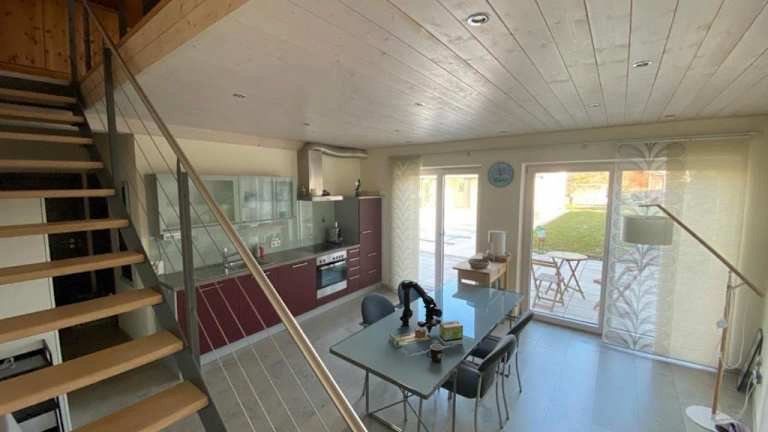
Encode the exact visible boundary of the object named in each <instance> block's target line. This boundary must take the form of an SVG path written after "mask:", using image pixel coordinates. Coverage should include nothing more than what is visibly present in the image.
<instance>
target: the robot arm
mask: <svg viewBox="0 0 768 432" xmlns="http://www.w3.org/2000/svg"><path fill="white" fill-rule="evenodd" d="M411 289H413V290H414V291H415V292H416V294H418V296H419V297H420V298H421V299H422V303H423V305H424V306H423V309H425V314H424V317H425V319H424V321H423V320H420V321H417V326H418V328H425V327H426V330H427V332H428V334H431V332H432V328H434V327H437V325H440V323H442V320H441V319H440V318H441V317H442V316H443V311H442V310H441V308H439V307H438V306H437V303H436V302H435V299H434V298H433V297H432V296H430V295H428V294H427V293H426V292H425V291H424V290H423V289H422V287H421V286H420V285H419V284H418V282H417V281H410V280H406V281H403V282H401V290H402V292H403V309H402V315H401V316H400V317H399V321H401V324H400V327H402V328H404V327H405V328H407V327H410V320H411V319H412V317H413V315H414V314H413V313H414V312H413V310H412V309H411V296H410V291H411Z"/></svg>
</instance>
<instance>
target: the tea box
mask: <svg viewBox="0 0 768 432" xmlns="http://www.w3.org/2000/svg"><path fill="white" fill-rule="evenodd" d="M438 331H439V338H438V339H439V341H440V342H442V344H443V345H444V346H443V347H448V346H456V345H462V344H463V343H464V342H463V338H464V337H463V336H464V326H463V324H462V323H460V322H459V320H451V321H444V322H443V321H441V323H440V324H439V330H438Z"/></svg>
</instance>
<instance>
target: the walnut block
mask: <svg viewBox="0 0 768 432" xmlns="http://www.w3.org/2000/svg"><path fill="white" fill-rule="evenodd" d="M414 332H415V335H416V336H417V337H418V338H423V337H426V335H427V334H426V330H425V328H424V327H422V328H421V327H417V328H415V329H414Z"/></svg>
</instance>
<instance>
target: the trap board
mask: <svg viewBox="0 0 768 432" xmlns="http://www.w3.org/2000/svg"><path fill="white" fill-rule="evenodd" d="M406 335H407V336H406ZM389 340H390V341H391V343H392V344H393V345H394V346H395V347H396V348H397V349H400V348H403V346H406V345H410V344H414V343H419V342H423V341H428V340H431V338H430V337H429V336H428V335H427V334H426V337H423V338H418V337H417V336H416V335H415V331H414V332H407V333H404V334H403V336H402V334H398V335H394V334H392V333H391V332H390V333H389ZM412 341H414V342H412Z"/></svg>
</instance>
